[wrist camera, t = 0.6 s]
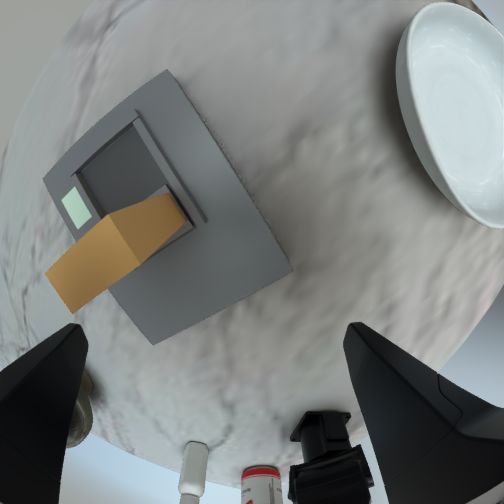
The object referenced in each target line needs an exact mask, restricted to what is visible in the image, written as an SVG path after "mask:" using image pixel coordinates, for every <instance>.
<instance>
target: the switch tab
mask: <svg viewBox="0 0 504 504" xmlns="http://www.w3.org/2000/svg"><path fill="white" fill-rule="evenodd" d="M193 227H194V226H193V224H192V223H191V221H190V220H189V218H188V217H187V215H186V214H185V212H184V210H183V209H182V207H181V206H180V204H179V203H178V201H177V200H176V198H175V196H174V195H173V193H172V192H171V190H170V189H169V187H168V185H167V184H166V185H164V186H163V187H161V188H160V189H159V190H157V191H156V192H155V193H153V194H152V195H150V196H149V197H148V198H146V199H145V200H144V201H142V202H140V203H137V204H134V205H131V206H129V207H126V208H123V209H120V210H118V211H115V212H113V213H110V214H108V215H107V216H105V217H104V218H103V219H102V220H101V221H100V222H98V223H97V224H96V225H95V226H94V227H93V228H92V229H90V230H89V231H88V232H87V233H86V234H85V235H84V236H83V237H82V238H81V239H79V240H78V241H77V242H76V243H75V244H74V245H73V246H72V247H71V248H70V249H69V250H68V251H67V252H66V253H65V254H64V255H63V256H62V257H61V258H60V259H59V260H58V261H57V262H56V263H55V264H54V265H53V266H52V267H51V268H50V269H49V270H48V271H47V272H46V273H45V274H46V276H47V278H48V279H49V281H50V282H51V284H52V285H53V287H54V288H55V290H56V291H57V293H58V294H59V296H60V297H61V299H62V300H63V302H64V303H65V304H66V306H67V307H68V309H69V310H70V311H71V313H72V314H73V313H75V312H76V311H77V310H79V309H80V308H81V307H83V306H84V305H85V304H87V303H88V302H89V301H91V300H92V299H93V298H95V297H96V296H97V295H99V294H100V293H102V292H103V291H104V290H106V289H107V288H109V287H110V286H111V285H113V284H114V283H116V282H117V281H118V280H120V279H121V278H123V277H124V276H125V275H127V274H128V273H130V272H131V271H133V270H134V269H136V268H137V267H138V266H140V265H141V264H142V263H143V262H144V261H145V260H146V259H147V258H148V257H149V256H151V255H152V254H154V253H155V252H156V251H158V250H159V249H161V248H162V247H164V246H165V245H167V244H168V243H170V242H171V241H173V240H174V239H176V238H178V237H179V236H181V235H182V234H184V233H185V232H187V231H188V230H190V229H191V228H193Z"/></svg>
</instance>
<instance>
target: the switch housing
mask: <svg viewBox="0 0 504 504" xmlns="http://www.w3.org/2000/svg"><path fill="white" fill-rule="evenodd" d="M43 181H44V183H45V185H46V187H47V189H48V191H49V193H50V195H51V197H52V199H53V201H54V203H55V205H56V207H57V209H58V211H59V212H60V214H61V216H62V218H63V220H64V221H65V223H66V225H67V227H68V228H69V230H70V232H71V233H72V235H73V237H74V239H75V240H76V242H77V241H78V240H79V239H81V238H82V237H83V236H84V235H85V234H86V233H87V232H88V231H89V230H90V229H92V228H93V227H94V226H95V225H96V224H97V223H98V222H100V221H101V220H102V219H103V218H104V217H105V216H107V215H108V214H110V213H113V212H115V211H118V210H120V209H123V208H126V207H129V206H131V205H134V204H137V203H140V202H142V201H144V200H145V199H146V198H148V197H149V196H150V195H152V194H153V193H155V192H156V191H157V190H159V189H160V188H161V187H163V186H164V185H166V184H167V185H168V187H169V189H170V190H171V192H172V193H173V195H174V196H175V198H176V200H177V201H178V203H179V204H180V206H181V207H182V209H183V210H184V212H185V214H186V215H187V217H188V218H189V220H190V221H191V223H192V224H193V226H194V227H193V228H191V229H190V230H188V231H187V232H185V233H184V234H182V235H181V236H179V237H178V238H176V239H174V240H173V241H171V242H170V243H168V244H167V245H165V246H164V247H162V248H161V249H159V250H158V251H156V252H155V253H154V254H152V255H151V256H149V257H148V258H147V259H146V260H145V261H144V262H143V263H142V264H141V265H140V266H138V267H137V268H136V269H134V270H133V271H131V272H130V273H128V274H127V275H125V276H124V277H123V278H121V279H120V280H118V281H117V282H116V283H114V284H113V285H111V286H110V287H109V288H108V290H109V291H110V293H111V294H112V295H113V297H114V298H115V299H116V301H117V302H118V303H119V305H120V306H121V307H122V309H123V310H124V311H125V312H126V314H127V315H128V316H129V318H130V319H131V320H132V321H133V322H134V324H135V325H136V326H137V327H138V329H139V330H140V331H141V332H142V333H143V335H144V336H145V337H146V338H147V339H148V340H149V342H150V343H151V344H152V345H155V344H157V343H159V342H161V341H163V340H165V339H167V338H169V337H171V336H173V335H175V334H177V333H179V332H181V331H183V330H185V329H187V328H189V327H191V326H192V325H194V324H196V323H198V322H200V321H202V320H204V319H206V318H208V317H210V316H212V315H214V314H216V313H217V312H219V311H221V310H223V309H225V308H227V307H229V306H231V305H233V304H234V303H236V302H238V301H240V300H242V299H244V298H246V297H247V296H249V295H251V294H253V293H255V292H257V291H258V290H260V289H262V288H264V287H266V286H267V285H269V284H271V283H273V282H275V281H276V280H278V279H280V278H282V277H284V276H285V275H287V274H289V273H291V272H292V271H293V268H292V266H291V264H290V262H289V260H288V258H287V256H286V254H285V253H284V251H283V249H282V248H281V246H280V244H279V243H278V241H277V239H276V238H275V236H274V234H273V232H272V231H271V229H270V227H269V226H268V224H267V222H266V221H265V219H264V217H263V216H262V214H261V212H260V211H259V209H258V208H257V206H256V204H255V203H254V201H253V199H252V198H251V196H250V194H249V193H248V191H247V190H246V188H245V186H244V185H243V183H242V181H241V180H240V178H239V177H238V175H237V173H236V172H235V170H234V169H233V167H232V165H231V164H230V162H229V161H228V159H227V157H226V156H225V154H224V153H223V151H222V149H221V148H220V146H219V145H218V143H217V142H216V140H215V138H214V137H213V135H212V134H211V132H210V131H209V129H208V128H207V126H206V124H205V123H204V121H203V120H202V118H201V117H200V115H199V114H198V112H197V111H196V109H195V108H194V106H193V105H192V103H191V101H190V100H189V98H188V97H187V95H186V94H185V92H184V91H183V89H182V88H181V86H180V85H179V83H178V82H177V80H176V79H175V78H174V77H173V75H172V74H171V73H170V72H169V71H168V69H166V70H165V71H163V72H162V73H160V74H159V75H157V76H156V77H154V78H153V79H152V80H150V81H149V82H147V83H146V84H144V85H143V86H142V87H140V88H139V89H138V90H136V91H135V92H134V93H132V94H131V95H130V96H128V97H127V98H126V99H124V100H123V101H122V102H121V103H119V104H118V105H117V106H116V107H115V108H113V109H112V110H111V111H110V112H109V113H107V114H106V115H105V116H104V117H103V118H102V119H100V120H99V121H98V122H97V123H96V124H95V125H94V126H93V127H92V128H91V129H89V130H88V131H87V132H86V133H85V134H84V135H83V136H82V137H81V138H80V139H79V140H78V141H77V142H76V143H75V144H74V145H73V146H72V147H71V148H70V149H69V150H68V151H67V152H66V153H65V154H64V155H63V156H62V157H61V159H60V160H59V161H58V162H57V163H56V164H55V165H54V166H53V167H52V168H51V170H50V171H49V172H48V173H47V174H46V175H45V177H44V178H43Z"/></svg>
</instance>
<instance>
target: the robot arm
mask: <svg viewBox="0 0 504 504" xmlns="http://www.w3.org/2000/svg"><path fill="white" fill-rule="evenodd" d="M343 348H344V352H345V356H346V360H347V364H348V369H349V373H350V378H351V382H352V385H353V389H354V392H355V394H356V397H357V400H358V403H359V406H360V409H361V412H362V415H363V418H364V421H365V424H366V427H367V430H368V433H369V436H370V439H371V443H372V445H373V449H374V452H375V455H376V459H377V462H378V465H379V469H380V472H381V475H382V479H383V482H384V485H385V486H384V487H385V490H386V494H387V497H388V501H389V504H504V408H500V407H496V406H494V405H492V404H490V403H488V402H486V401H485V400H483V399H481V398H479V397H477V396H475V395H473V394H471V393H470V392H468V391H466V390H464V389H462V388H460V387H459V386H457V385H456V384H454V383H452V382H451V381H449V380H448V379H446V378H445V377H443V376H442V375H440V374H437V372H436V371H434V370H433V369H431V368H430V367H428V366H427V365H425V364H424V363H422V362H421V361H419V360H418V359H416V358H415V357H413V356H412V355H410V354H409V353H407V352H406V351H404V350H403V349H401V348H400V347H398V346H397V345H395V344H394V343H392V342H391V341H389V340H388V339H386V338H385V337H383V336H382V335H380V334H379V333H377V332H376V331H374V330H373V329H371V328H370V327H368V326H367V325H365V324H364V323H362V322H353V323H350V324H349V325H348V327H347V331H346V334H345V337H344V341H343ZM87 352H88V341H87V338H86V336H85V334H84V331H83V329H82V327H81V325H79V324H75V323H69V324H68V325H66V326H65V327H63V328H62V329H60V330H59V331H57V332H56V333H54V334H53V335H51V336H50V337H48V338H47V339H45V340H44V341H42V342H41V343H40V344H38V345H37V346H35V347H34V348H32V349H31V350H29V351H28V352H27V353H25V354H24V355H22V356H21V357H20V358H18V359H17V360H15V361H14V362H13V363H11V364H10V365H8V366H7V367H6V368H4V369H3V370H2V371H1V372H0V504H58V503H59V493H60V484H61V482H60V481H61V475H62V468H63V462H64V456H65V450H66V445H67V440H68V435H69V430H70V426H71V421H72V417H73V413H74V409H75V405H76V401H77V397H78V394H79V390H80V386H81V382H82V377H83V372H84V366H85V361H86V357H87ZM350 418H351V414H350V413H323V412H307V413H306V414H305V415H304V417H303V418H302V420H301V421H300V423H299V425H298V426H297V428H296V429H295V431H294V432H293V434H292V436H291V437H290V441H292V442H301V446H302V452H303V458H304V463H303V464H299V465H292V466H290V471H289V492H288V499H289V500H291V501H292V502H293V504H371V496H370V492H369V489H368V488H370V487H373V486H374V482H373V478H372V475H371V472H370V469H369V466H368V463H367V461H366V458H365V455H364V452H363V450H362V447H361V445H360V444H359V445H356V447H353V448H352V447H351V444H350V441H349V435H348V432H347V429H346V426H345V425H346V423H347V422H348V421H349V419H350Z"/></svg>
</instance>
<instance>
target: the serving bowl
mask: <svg viewBox="0 0 504 504" xmlns="http://www.w3.org/2000/svg"><path fill="white" fill-rule="evenodd" d="M396 85H397V94H398V99H399V104H400V108H401V113H402V116H403V120H404V123H405V126H406V129H407V132H408V135H409V137H410V140H411V142H412V144H413V147H414V149H415V151H416V153H417V155H418V157H419V159H420V161H421V163H422V165H423V166H424V168H425V170H426V171H427V173H428V174H429V176H430V177H431V179H432V180H433V182H434V183H435V185H436V186H437V187H438V189H439V190H440V191H441V192H442V193H443V194H444V196H445V197H446V198H447V199H448V200H449V201H450V202H451V203H452V204H453V205H454V206H456V207H457V208H458V209H459V210H460V211H462V212H463V213H464V214H466V215H467V216H469V217H470V218H472V219H473V220H475V221H477V222H478V223H480V224H482V225H484V226H487V227H490V228H494V229H504V37H503V36H502V35H501V34H500V33H499V32H498V30H497V29H495V28H494V27H493V26H492V25H491V24H490V23H489V22H488V21H486V20H485V19H484V18H483V17H481V16H480V15H478V14H477V13H475V12H473V11H471V10H469V9H467V8H465V7H463V6H460V5H457V4H454V3H449V2H435V3H431V4H428V5H426V6H424V7H423V8H421V9H420V10H419V11H418V12H417V13H416V14H415V15H414V16H413V18H412V19H411V20H410V22H409V23H408V25H407V26H406V28H405V30H404V32H403V34H402V37H401V39H400V43H399V46H398V50H397V57H396Z"/></svg>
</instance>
